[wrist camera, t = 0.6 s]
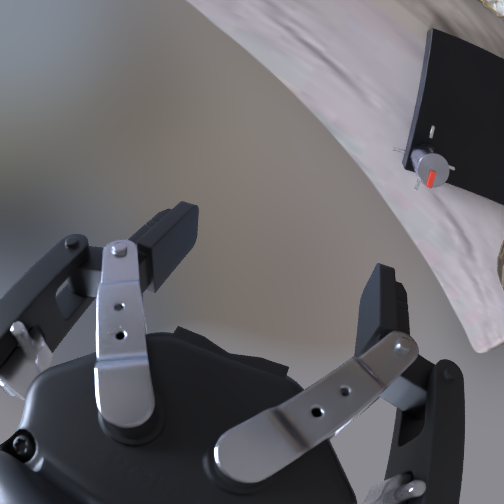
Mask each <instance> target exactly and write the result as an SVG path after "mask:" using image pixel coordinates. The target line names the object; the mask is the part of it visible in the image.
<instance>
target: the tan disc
mask: <svg viewBox="0 0 504 504" xmlns="http://www.w3.org/2000/svg"><path fill="white" fill-rule="evenodd" d="M497 272H498V276H499V279H500V282H501V285H502V287H503V289H504V241H503V243H502V246H501V249H500V252H499V256H498V267H497Z"/></svg>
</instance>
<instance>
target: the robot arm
mask: <svg viewBox="0 0 504 504" xmlns="http://www.w3.org/2000/svg"><path fill="white" fill-rule="evenodd" d="M198 214H199V208H198V206H197V205H194V204H190V203H187V202H183V201H182V202H180V203H179V204H178V205H176V206H175V207H174V208H173V209H166V210H164V211H161V212H159V213H158V214H156V215H155V216H154V217H153V218H152V220H150V221H149V222H147V223H146V225H144V226H143V227H142V228H140V229H139V230H138V231H137V232H136V233H135V234H134V235H132V236H131V237H130V238H129V239H128V240H126V239H119V240H114V241H112V242H110V243H108V244H107V245H106V246H105V247H104V248H101V247H92V246H89V244H88V239H87V238H86V237H85V236H84V235H81V234H72V235H68V236H66V237H64V238H63V239H61V240H60V241H59V242H58V243H57V244H56V245H55V246H53V247H52V248H51V249H50V250H49V251H48V252H47V253H46V254H45V255H44V256H43V257H41V258H40V259H39V260H38V261H37V262H36V263H35V264H34V265H33V266H32V267H31V268H30V269H29V270H28V271H27V272H26V273H25V274H24V275H23V276H22V277H21V278H20V279H19V280H18V281H17V282H16V283H15V284H14V285H13V286H12V287H11V288H10V289H9V290H8V291H7V292H6V293H5V294H4V295H3V296H2V297H1V298H0V387H1V388H2V389H3V390H4V391H5V392H6V393H7V394H8V395H10V396H18V397H19V398H21V399H22V400H23V401H25V406H24V411H23V415H22V418H21V422H20V424H19V427H18V429H17V431H16V432H15V434H13V436H11V437H10V438H9V439H8V440H7V441H5V442H4V443H2V444H1V445H0V504H357V500H356V496H355V493H354V491H353V489H352V487H351V485H350V483H349V481H348V479H347V476H346V474H345V472H344V470H343V468H342V466H341V464H340V461H339V459H338V457H337V455H336V453H335V451H334V448H333V446H332V444H331V442H330V439H332V438H333V437H334V436H335V435H337V434H338V433H339V432H340V431H342V430H343V429H344V428H345V427H346V426H348V425H349V424H350V423H351V422H352V421H354V420H355V419H356V418H357V417H358V416H359V415H361V414H362V413H363V412H364V411H365V410H366V409H367V408H369V407H370V406H371V405H372V404H373V403H374V402H375V401H376V400H378V399H379V398H382V399H384V400H385V401H387V402H389V403H390V404H392V405H394V406H396V407H397V411H396V419H395V426H394V432H393V438H392V444H391V450H390V455H389V460H388V465H387V470H386V474H385V479H384V481H383V482H380V483H378V484H376V485H375V486H373V487H372V488H371V490H370V491H369V493H368V495H367V497H366V499H365V501H364V502H363V503H362V504H459V497H460V491H461V481H462V472H463V460H464V441H465V440H464V439H465V399H464V379H463V374H462V372H461V370H460V368H459V367H458V366H457V365H456V364H455V363H454V362H452V361H450V360H446V359H444V360H440V361H439V362H438V363H437V364H436V365H435V364H433V363H431V362H430V361H428V360H426V359H425V358H423V357H422V356H420V355H419V354H418V353H419V350H418V346H417V344H416V342H415V340H414V339H413V338H412V337H411V336H410V328H409V314H408V304H407V293H406V291H405V289H404V287H403V285H402V283H399V282H396V280H395V270H394V268H392V267H389V266H385V265H383V264H380V263H378V264H377V265H376V266H375V268H374V271H373V273H372V275H371V277H370V279H369V281H368V283H367V285H366V286H365V288H364V291H363V293H362V297H361V300H360V306H359V318H358V328H357V338H356V346H355V354H354V357H352V358H350V359H349V360H348V361H346V362H345V363H343V364H342V365H341V366H339V367H338V368H336V369H335V370H333V371H332V372H330V373H329V374H328V375H326V376H325V377H323V378H322V379H320V380H319V381H317V382H316V383H314V384H312V385H311V386H309V387H308V388H306V389H305V390H304V389H303V388H302V387H301V386H300V385H299V384H298V383H297V382H296V381H294V380H293V379H292V378H290V377H289V376H287V372H288V369H289V367H288V366H284V365H281V364H278V363H275V362H272V361H269V360H266V359H264V358H260V357H252V356H245V355H237V354H231V353H228V352H226V351H225V350H223V349H222V348H220V347H219V346H217V345H216V344H214V343H213V342H211V341H210V340H208V339H207V338H205V337H204V336H201V335H199V334H196V333H194V332H192V331H189V330H187V329H184V328H182V327H179V326H178V327H177V329H176V330H175V331H174V333H166V332H157V333H150V334H147V328H146V320H145V312H144V303H143V295H142V294H143V292H144V291H145V290H146V289H147V290H149V291H152V292H154V293H156V291H157V290H158V289H159V288H160V286H161V285H162V284H163V283H164V282H165V280H166V279H167V278H168V277H169V275H170V274H171V273H172V272H173V271H174V269H175V268H176V267H177V266H178V264H179V263H180V262H181V261H182V259H184V257H185V256H186V255H187V254H188V252H189V251H190V250H191V249H192V248H193V246H194V244H195V242H196V239H197V230H198ZM66 279H67V281H68V284H67V285H66V286H65V287H64V288H63V290H62V291H61V292H60V293H59V294H58V295H57V296H56V292H57V289H58V288H59V287H60V286H61V285H62V283H63V282H64V281H65V280H66ZM95 298H97V310H96V349H97V352H95V353H92V354H89V355H86V356H83V357H80V358H77V359H74V360H71V361H68V362H66V363H63V364H60V365H56V366H53V367H50V366H51V364H52V359H53V357H52V353H53V352H54V350H55V349H56V348H57V346H58V345H59V343H60V342H61V341H62V340H63V338H64V337H65V336H66V334H67V333H68V332H69V331H70V329H71V328H72V327H73V325H74V324H75V323H76V322H77V320H78V319H79V318H80V317H81V315H82V314H83V313H84V312H85V310H86V309H87V308H88V306H89V305H90V304H91V303H92V302H93V301H94V299H95Z"/></svg>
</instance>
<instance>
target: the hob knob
mask: <svg viewBox="0 0 504 504" xmlns="http://www.w3.org/2000/svg"><path fill="white" fill-rule="evenodd" d="M410 161H411V164H412V166H413V168H414V170H415V172H416V174H417V176H418V178H419V180H420V181H421V182H422V183H423V184H424V185H426V186H427V187H429V188H432V187H439V186H441V185H443V184H444V183H445V182H446V180H447V179H448V176H449V172H450V169H449V165H448V162H447V161H446V159H445V158H444V157H443V156H442V155H441V153H440V152H439V151H438V150H437V149H436V148H435V147H434V146H433V145H431V144H428V143H421V144H418V145H417V146H415V147H414V148H413V150H412V152H411V155H410Z"/></svg>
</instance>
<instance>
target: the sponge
mask: <svg viewBox="0 0 504 504" xmlns="http://www.w3.org/2000/svg"><path fill="white" fill-rule="evenodd" d="M479 1H480V2H482V3H483V4H482V5H484V6H485V7H487V8H488V9H489V10H491V11H492V12H494V13H495V14H496V15H497V16H499V17H504V0H479Z"/></svg>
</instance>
